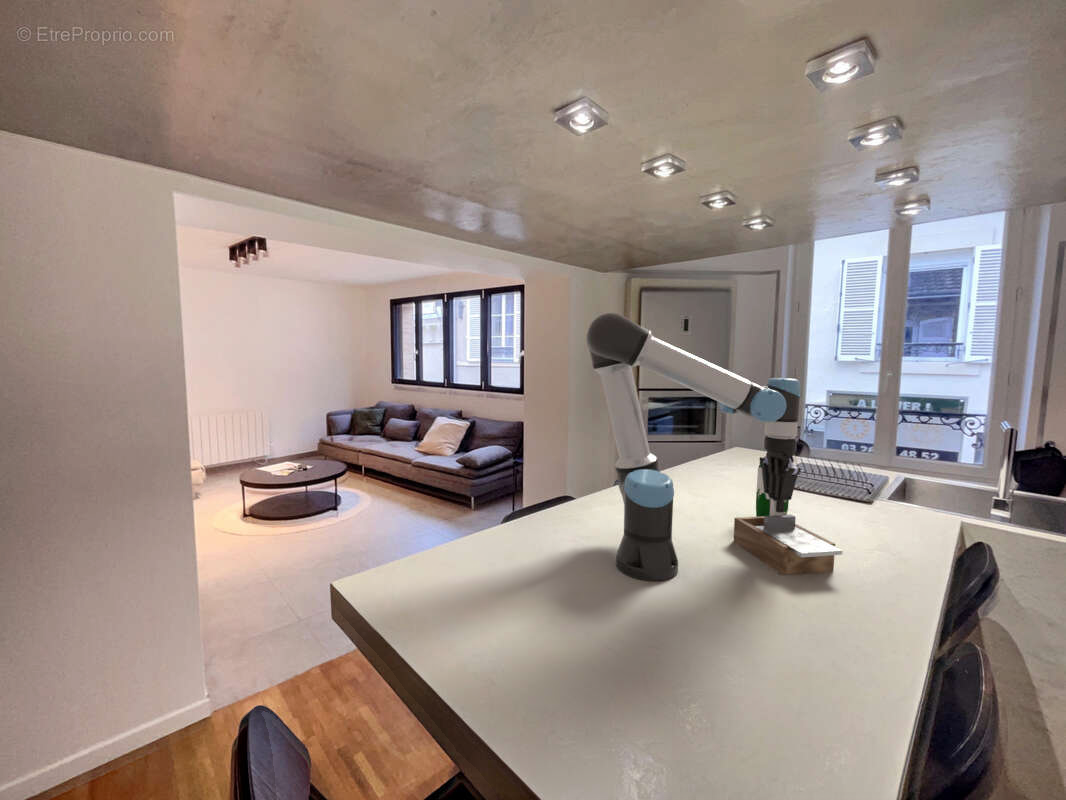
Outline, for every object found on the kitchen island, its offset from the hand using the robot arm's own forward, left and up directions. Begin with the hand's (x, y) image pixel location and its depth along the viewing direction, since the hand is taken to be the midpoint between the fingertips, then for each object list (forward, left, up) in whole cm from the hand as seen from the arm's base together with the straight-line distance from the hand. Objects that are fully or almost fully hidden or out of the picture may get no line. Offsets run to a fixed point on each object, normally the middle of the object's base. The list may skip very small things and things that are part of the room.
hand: (775, 522), depth 120 cm
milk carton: (+14, +20, -8) cm, 26 cm away
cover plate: (0, -8, -2) cm, 8 cm away
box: (0, -2, -8) cm, 9 cm away
